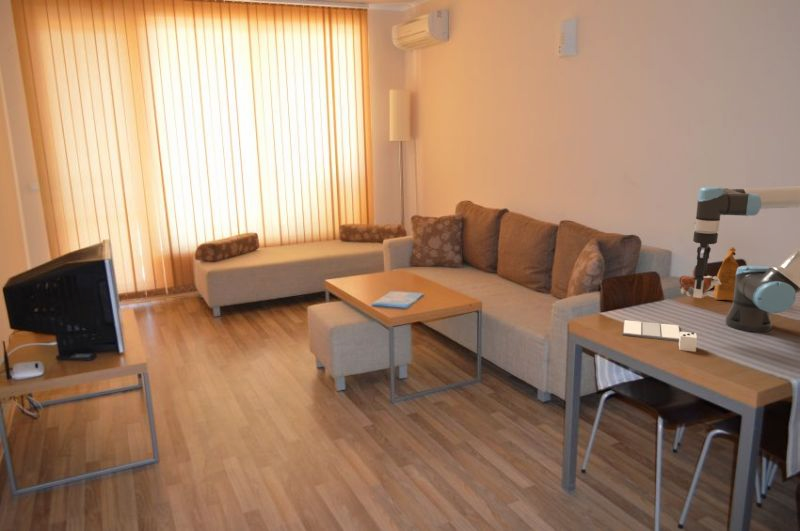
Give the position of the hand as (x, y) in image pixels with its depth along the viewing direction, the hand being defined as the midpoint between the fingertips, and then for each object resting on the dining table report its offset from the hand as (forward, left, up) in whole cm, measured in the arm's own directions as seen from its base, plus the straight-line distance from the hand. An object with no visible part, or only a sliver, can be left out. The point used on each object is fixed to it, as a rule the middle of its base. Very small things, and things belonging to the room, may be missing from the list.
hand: (698, 295), depth 217 cm
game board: (+15, 0, -15) cm, 21 cm away
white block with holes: (+3, +15, -15) cm, 21 cm away
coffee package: (-17, -56, -15) cm, 61 cm away
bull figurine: (0, 0, -1) cm, 1 cm away
